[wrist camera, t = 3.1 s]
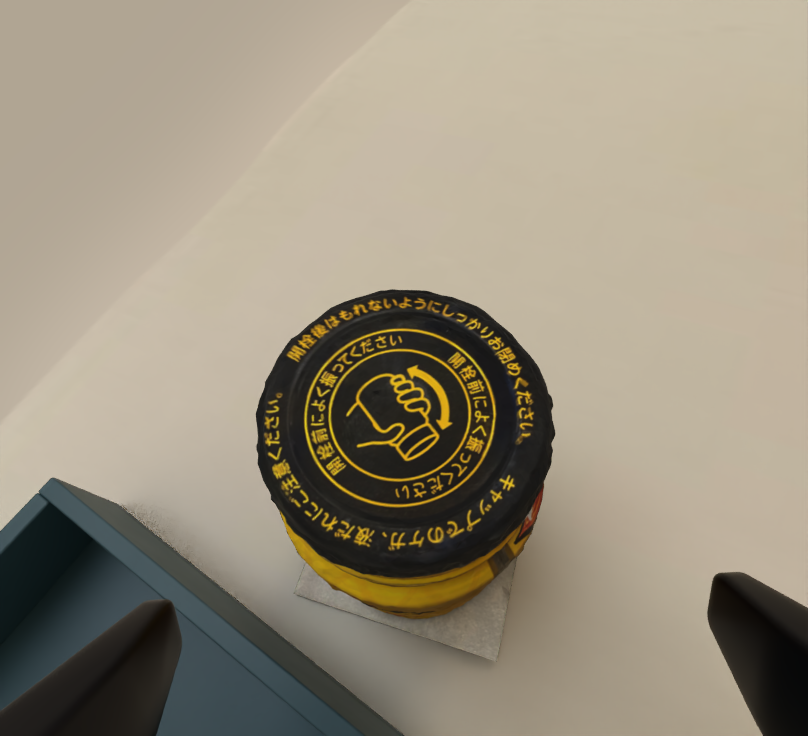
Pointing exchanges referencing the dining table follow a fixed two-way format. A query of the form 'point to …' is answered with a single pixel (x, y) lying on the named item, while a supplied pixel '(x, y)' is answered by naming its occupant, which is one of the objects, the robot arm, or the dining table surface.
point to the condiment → (408, 462)
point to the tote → (196, 612)
